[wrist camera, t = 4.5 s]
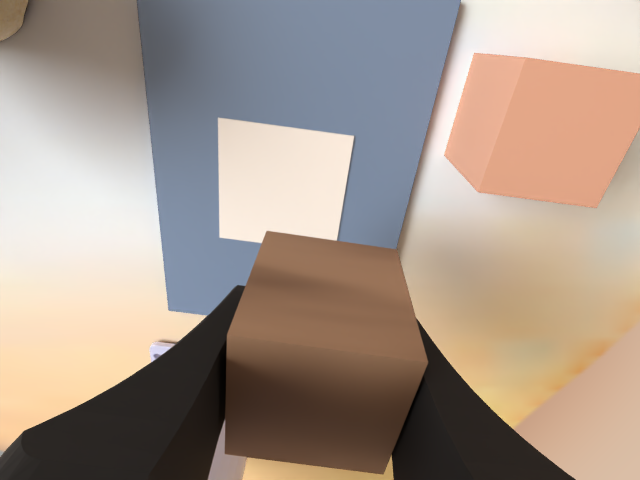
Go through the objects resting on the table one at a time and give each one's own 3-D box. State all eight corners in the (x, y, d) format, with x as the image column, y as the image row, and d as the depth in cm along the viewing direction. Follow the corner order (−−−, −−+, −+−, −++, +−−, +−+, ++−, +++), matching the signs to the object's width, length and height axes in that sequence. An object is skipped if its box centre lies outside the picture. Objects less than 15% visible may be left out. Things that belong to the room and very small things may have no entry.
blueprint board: (372, 331, 23) (373, 337, 23) (171, 306, 23) (167, 311, 23) (458, 0, 15) (461, -1, 14) (136, -46, 14) (130, -49, 14)
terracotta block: (533, 167, 18) (596, 208, 14) (443, 155, 18) (477, 192, 13) (575, 67, 16) (666, 77, 11) (473, 52, 16) (525, 57, 11)
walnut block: (370, 344, 15) (383, 474, 10) (258, 329, 15) (224, 454, 10) (396, 249, 12) (428, 362, 8) (266, 230, 12) (227, 335, 8)
